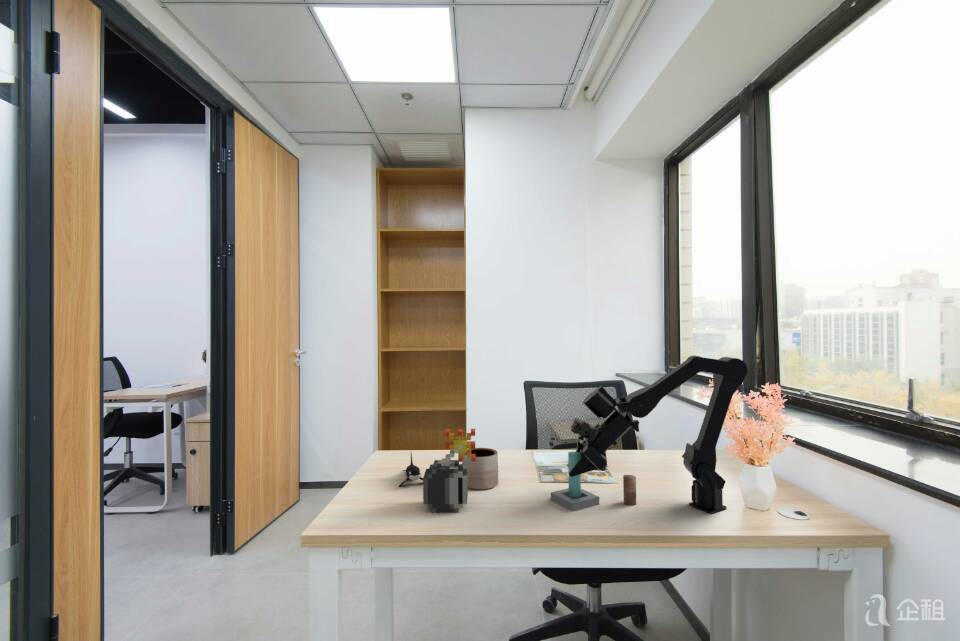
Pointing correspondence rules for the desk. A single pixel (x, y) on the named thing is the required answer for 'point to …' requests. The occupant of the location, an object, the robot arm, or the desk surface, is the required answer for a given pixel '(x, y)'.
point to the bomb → (449, 476)
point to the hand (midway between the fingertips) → (569, 471)
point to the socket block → (576, 504)
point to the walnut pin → (629, 490)
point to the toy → (412, 472)
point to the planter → (482, 468)
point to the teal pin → (575, 480)
